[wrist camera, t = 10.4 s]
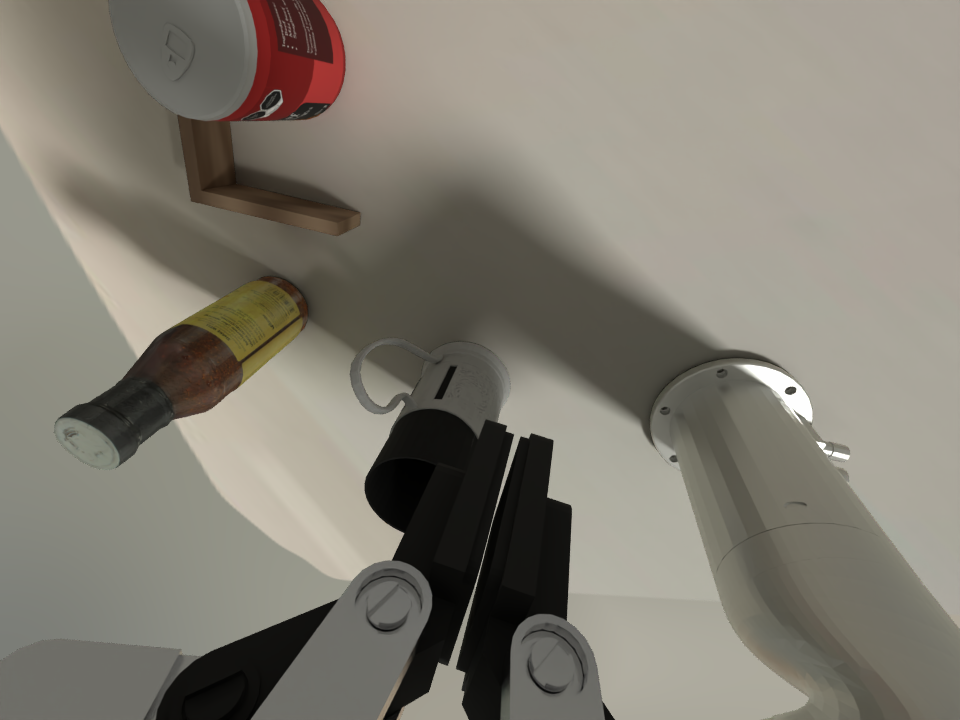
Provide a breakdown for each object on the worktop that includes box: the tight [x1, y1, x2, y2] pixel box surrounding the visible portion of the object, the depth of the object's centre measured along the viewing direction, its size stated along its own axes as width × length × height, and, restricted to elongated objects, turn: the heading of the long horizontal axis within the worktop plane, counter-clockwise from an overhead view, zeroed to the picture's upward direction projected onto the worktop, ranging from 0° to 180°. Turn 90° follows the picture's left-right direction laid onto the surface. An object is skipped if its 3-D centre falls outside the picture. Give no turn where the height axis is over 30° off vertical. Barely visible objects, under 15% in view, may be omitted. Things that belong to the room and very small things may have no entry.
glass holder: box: [350, 338, 510, 533], centre depth 34 cm, size 9×14×15 cm, turn 28°
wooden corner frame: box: [177, 114, 361, 236], centre depth 29 cm, size 12×21×4 cm, turn 170°
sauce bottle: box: [54, 276, 308, 470], centre depth 33 cm, size 6×6×20 cm
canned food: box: [109, 0, 345, 121], centre depth 26 cm, size 8×8×11 cm
